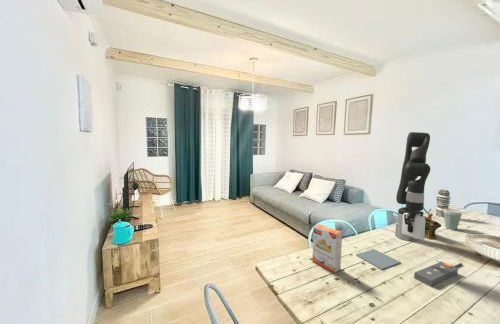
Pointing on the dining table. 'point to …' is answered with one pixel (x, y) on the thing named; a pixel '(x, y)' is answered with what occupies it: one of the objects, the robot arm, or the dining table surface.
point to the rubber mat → (378, 259)
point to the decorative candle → (442, 202)
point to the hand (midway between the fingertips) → (412, 231)
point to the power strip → (436, 273)
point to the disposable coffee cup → (451, 218)
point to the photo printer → (415, 227)
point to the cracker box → (327, 247)
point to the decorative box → (430, 227)
